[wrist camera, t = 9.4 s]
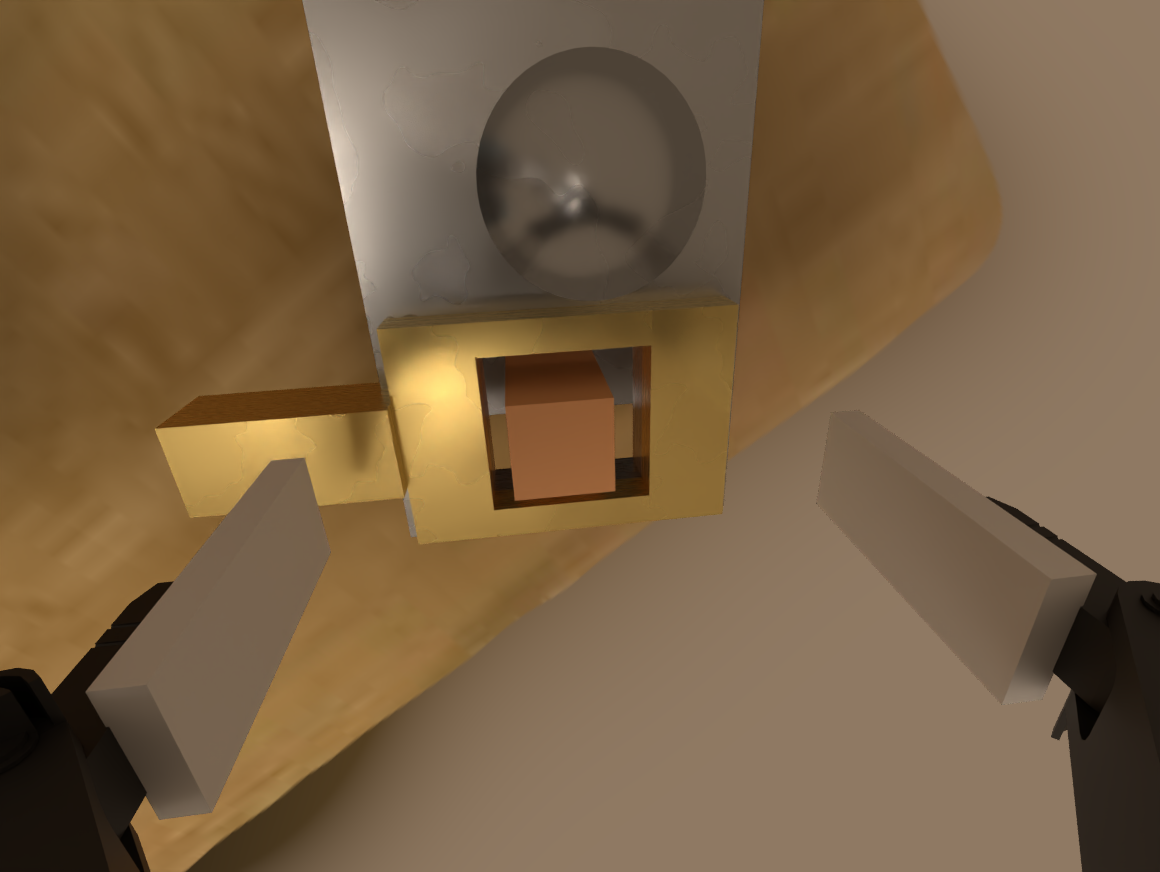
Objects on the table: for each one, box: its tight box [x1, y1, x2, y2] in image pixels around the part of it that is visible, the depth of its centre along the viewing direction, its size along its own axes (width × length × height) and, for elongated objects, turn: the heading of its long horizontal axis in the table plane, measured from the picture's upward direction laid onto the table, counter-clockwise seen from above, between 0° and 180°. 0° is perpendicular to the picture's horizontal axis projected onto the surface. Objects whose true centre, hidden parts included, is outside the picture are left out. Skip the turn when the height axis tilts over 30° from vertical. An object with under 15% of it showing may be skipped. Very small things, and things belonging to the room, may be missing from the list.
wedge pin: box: [505, 350, 615, 501], centre depth 21 cm, size 3×3×10 cm
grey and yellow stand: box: [155, 0, 764, 544], centre depth 17 cm, size 18×16×17 cm
